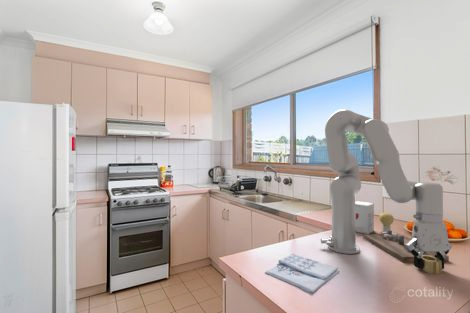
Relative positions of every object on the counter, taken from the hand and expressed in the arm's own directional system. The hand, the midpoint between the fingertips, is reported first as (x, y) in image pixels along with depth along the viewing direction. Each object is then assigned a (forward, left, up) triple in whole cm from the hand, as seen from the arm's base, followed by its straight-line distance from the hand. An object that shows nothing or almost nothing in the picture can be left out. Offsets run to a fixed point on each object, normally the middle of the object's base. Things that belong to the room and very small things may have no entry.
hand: (428, 267), depth 86 cm
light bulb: (+13, +42, -1) cm, 44 cm away
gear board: (+4, +19, -1) cm, 19 cm away
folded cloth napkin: (-46, 0, -2) cm, 46 cm away
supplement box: (+1, +44, -1) cm, 44 cm away
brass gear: (0, 0, -1) cm, 1 cm away
